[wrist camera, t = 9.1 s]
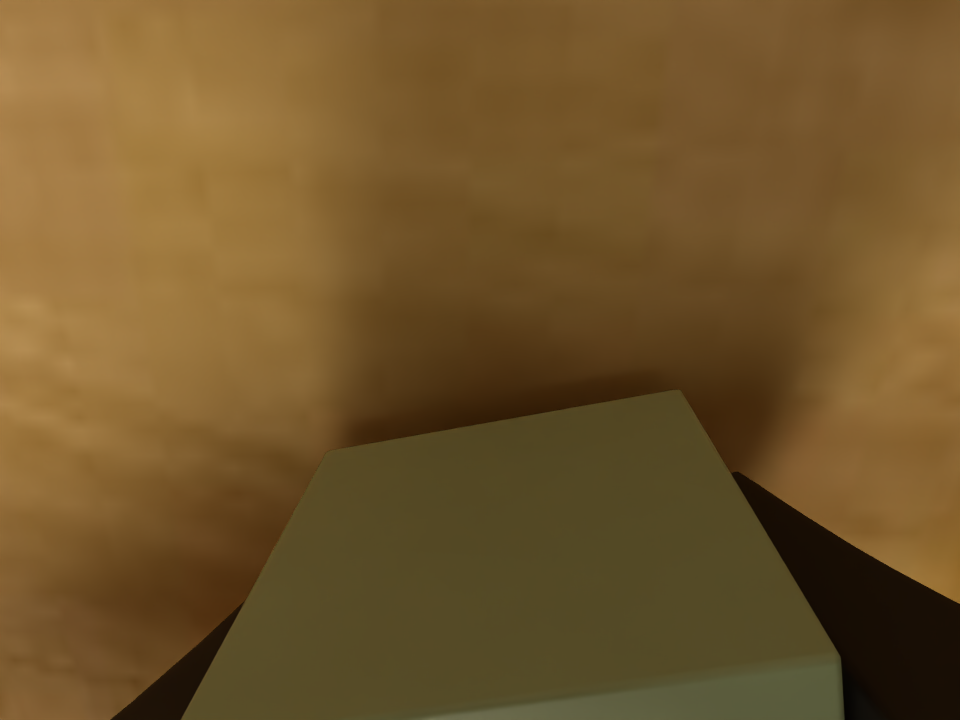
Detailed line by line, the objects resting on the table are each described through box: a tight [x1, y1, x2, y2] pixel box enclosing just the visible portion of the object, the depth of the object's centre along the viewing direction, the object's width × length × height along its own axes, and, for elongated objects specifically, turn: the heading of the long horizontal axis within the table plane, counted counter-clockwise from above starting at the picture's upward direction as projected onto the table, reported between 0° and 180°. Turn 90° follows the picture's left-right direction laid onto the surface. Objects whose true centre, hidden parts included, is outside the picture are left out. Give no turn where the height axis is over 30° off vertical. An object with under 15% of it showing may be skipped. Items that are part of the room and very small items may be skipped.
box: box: [181, 389, 845, 720], centre depth 7 cm, size 4×4×4 cm
